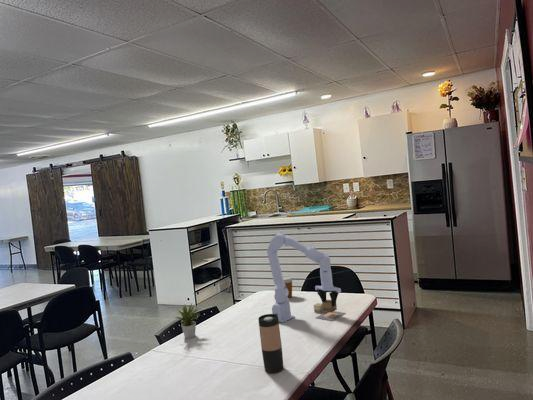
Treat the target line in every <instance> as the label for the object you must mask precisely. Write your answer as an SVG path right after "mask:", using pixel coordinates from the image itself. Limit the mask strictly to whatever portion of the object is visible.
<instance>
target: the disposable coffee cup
mask: <svg viewBox="0 0 533 400" xmlns="http://www.w3.org/2000/svg"><path fill="white" fill-rule="evenodd" d="M282 277H283V281H284V283H285V286H286V288H287V289H288V291H289V294H288V296H287V297H288V299H291V298H293V277H292V276H290V275H287V276H282Z"/></svg>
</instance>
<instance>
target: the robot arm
mask: <svg viewBox="0 0 533 400" xmlns="http://www.w3.org/2000/svg"><path fill="white" fill-rule="evenodd" d="M283 246H284V247H292V248H294V249H295V250H297V251H299V252H301V253H304V256H305V257H306V258H307V259H309V260H311V261H312V262H314V263H315V264H318V266H319V269H320V270H319V275H320V283H321V285H315V286H314V289H315V291H317V292H316V293H317V295H318V296H319V298H320V300H321V303H322V302H324V301H326V300H327V292H329V293H328V295H329V297H330V300H331V301H332V306H337V300H338V297H339V294H340V293H342V289H341V288H340V287H336V286H334V284H333V274H332V273H333V272H332V269H331V268H332V267H331V257H330V256H329V255H328V254H327V253H324V252H320V251H319V250H317V249H316V247H312V246H308V247H307V246H305V245H304V244H302V243H301V242H299V241H298V240H296V239H294V238H293V237H291V236H289V235H287V234H285V233H282V232H278V233H277V234H275V235H273V237H272V238H271V240H270V242H269V245H268V247H267V251H266V253H267V257H268V261H269V266H270V270H271V274H272V275H271V276H272V278H273V283H274V296H273V297H274V301H275V303H274V304H273V305H272V307H271V312H272V313H271V314H276V315H277V316H278V321H279V323H285V322H287V321H289V320H291V319H293V318H295V315H292V312H291V304H290V303H291V302H290V298H288V297H287V296H288V294H289V291H288V289H287V288H286V286H285V283H284V281H283V277H284V276H283V272H282V268H281V264H280V260H279V256H278V251H279V250H280V249H281V248H282V247H283Z"/></svg>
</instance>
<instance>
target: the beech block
mask: <svg viewBox="0 0 533 400" xmlns="http://www.w3.org/2000/svg"><path fill="white" fill-rule="evenodd" d="M313 309H314V310H313V311H314V313H316V314H323V313H325V311H323V305H322V302H317V303H315V304H313Z"/></svg>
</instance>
